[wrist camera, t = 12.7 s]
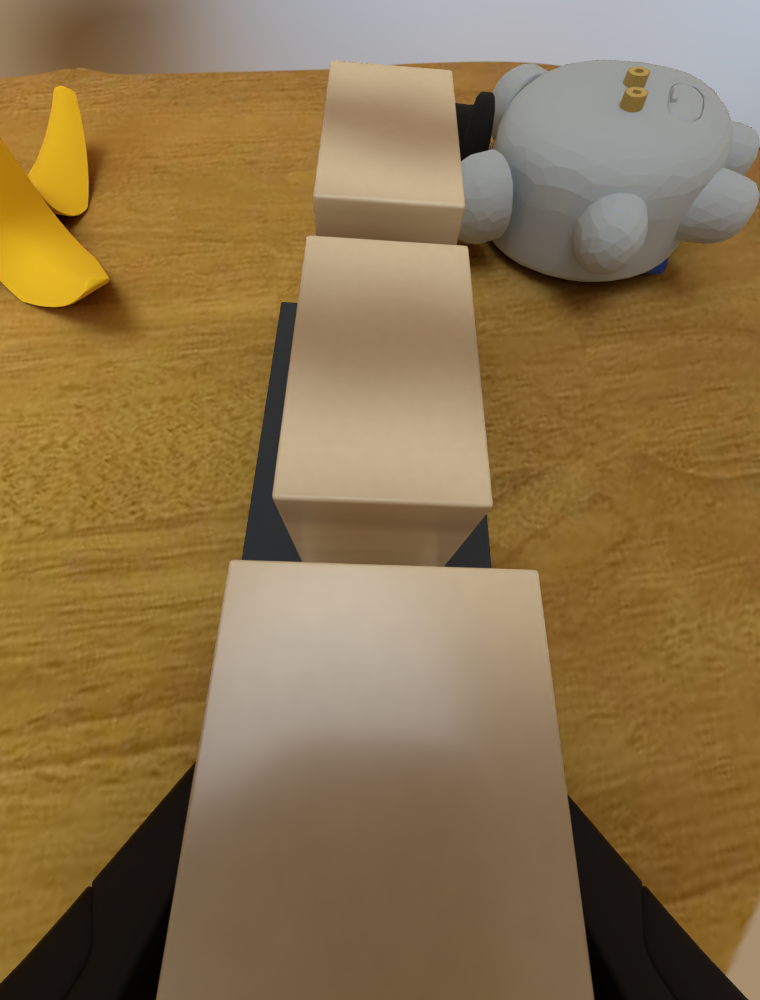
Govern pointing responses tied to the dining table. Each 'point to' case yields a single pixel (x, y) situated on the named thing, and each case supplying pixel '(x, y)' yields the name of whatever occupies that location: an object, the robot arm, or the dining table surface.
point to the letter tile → (378, 795)
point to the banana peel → (48, 215)
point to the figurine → (602, 168)
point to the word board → (265, 521)
